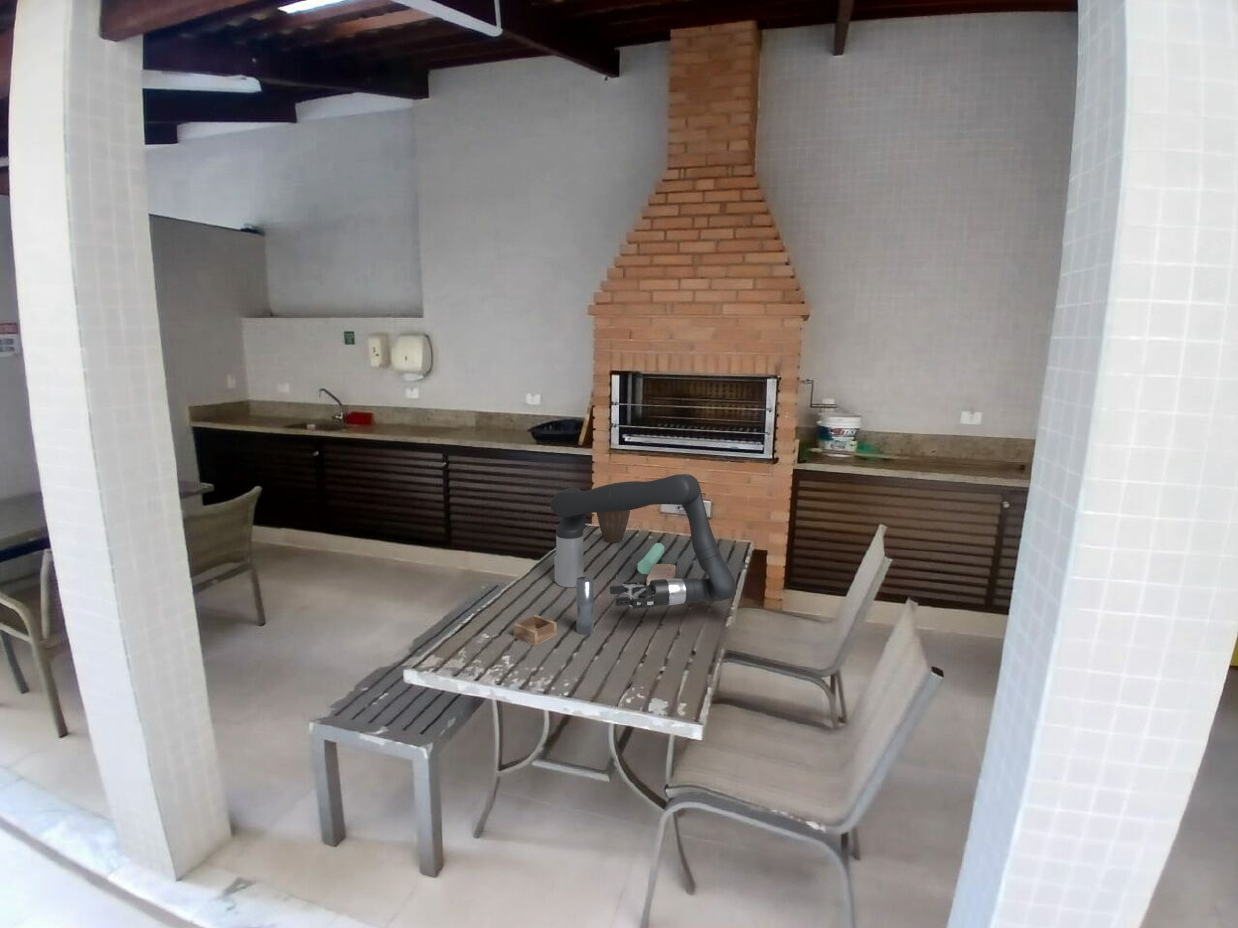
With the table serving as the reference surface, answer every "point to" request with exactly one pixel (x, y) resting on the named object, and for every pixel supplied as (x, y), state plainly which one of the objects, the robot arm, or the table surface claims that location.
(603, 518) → the plant pot
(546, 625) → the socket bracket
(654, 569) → the brick
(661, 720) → the table surface
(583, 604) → the rod
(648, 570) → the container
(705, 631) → the table surface
